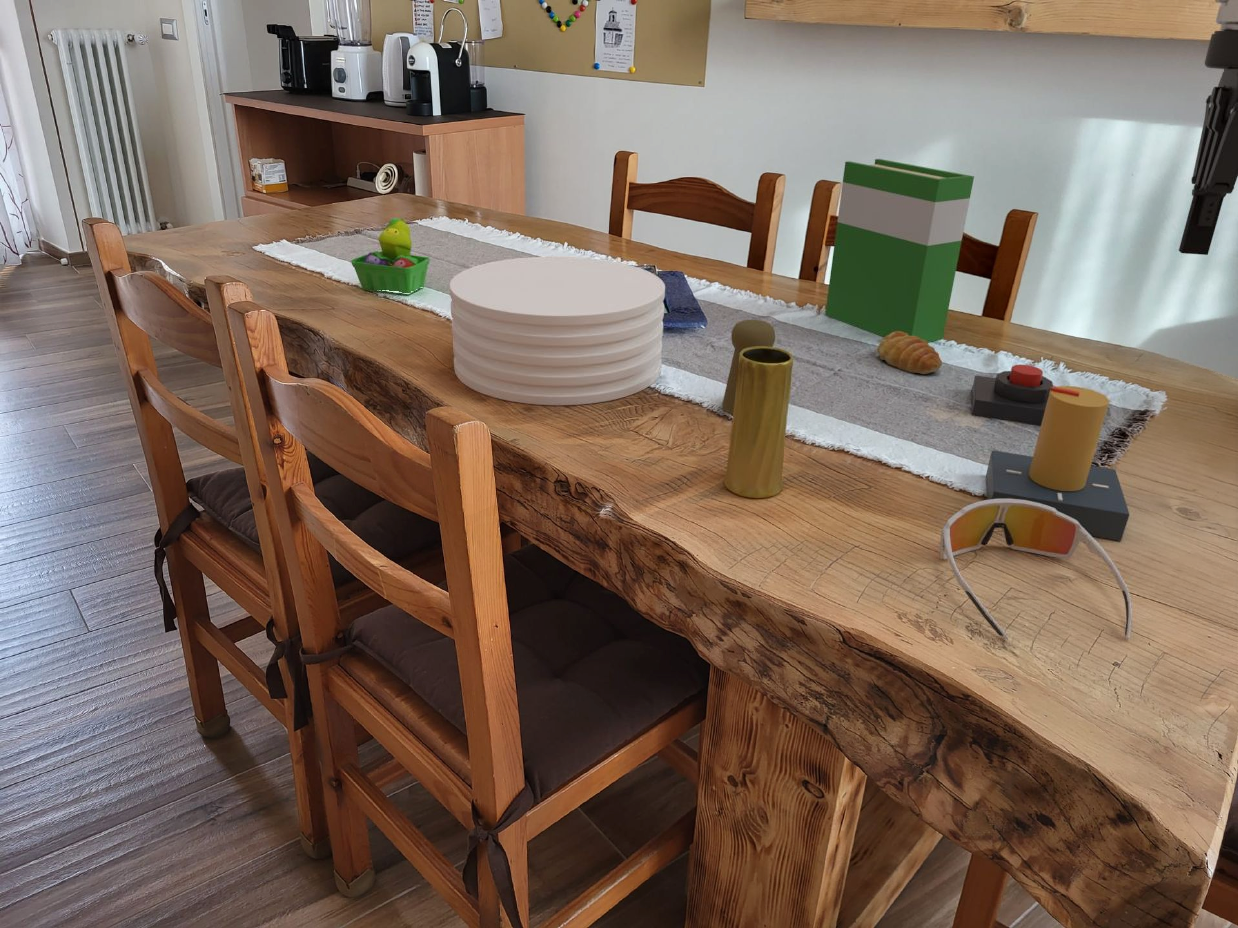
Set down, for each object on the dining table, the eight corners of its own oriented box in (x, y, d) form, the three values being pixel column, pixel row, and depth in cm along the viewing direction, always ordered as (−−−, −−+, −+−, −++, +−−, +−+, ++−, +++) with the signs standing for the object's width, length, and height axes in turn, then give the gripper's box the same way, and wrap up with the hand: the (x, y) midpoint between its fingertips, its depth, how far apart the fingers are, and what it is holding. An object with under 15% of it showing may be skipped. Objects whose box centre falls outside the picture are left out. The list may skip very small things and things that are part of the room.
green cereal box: (825, 315, 149) (845, 161, 138) (857, 308, 153) (879, 159, 142) (909, 346, 136) (939, 180, 125) (942, 339, 139) (974, 176, 129)
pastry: (952, 373, 126) (958, 347, 124) (915, 380, 123) (919, 353, 122) (906, 352, 134) (910, 327, 132) (869, 358, 131) (873, 332, 129)
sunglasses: (1063, 540, 86) (1080, 497, 83) (1144, 659, 74) (1167, 614, 71) (915, 540, 85) (927, 497, 83) (973, 660, 73) (989, 614, 70)
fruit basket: (351, 291, 154) (344, 223, 149) (379, 278, 161) (373, 213, 156) (411, 299, 150) (406, 229, 145) (437, 285, 158) (433, 219, 153)
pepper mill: (713, 409, 112) (719, 323, 107) (735, 394, 117) (743, 311, 112) (757, 421, 109) (766, 334, 104) (778, 406, 114) (788, 321, 109)
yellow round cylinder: (1088, 476, 92) (1113, 390, 88) (1081, 496, 88) (1107, 407, 84) (1033, 463, 94) (1055, 378, 90) (1024, 482, 90) (1046, 395, 86)
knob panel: (1107, 494, 95) (1116, 467, 94) (1121, 541, 86) (1130, 512, 85) (985, 474, 98) (992, 448, 97) (987, 517, 90) (994, 489, 88)
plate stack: (414, 358, 125) (408, 276, 120) (573, 321, 142) (573, 247, 137) (538, 424, 107) (536, 330, 102) (703, 372, 124) (709, 289, 119)
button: (1038, 380, 114) (1042, 366, 114) (1040, 390, 111) (1043, 376, 111) (1008, 375, 115) (1011, 362, 115) (1009, 385, 112) (1012, 372, 112)
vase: (711, 482, 95) (722, 352, 89) (751, 466, 99) (764, 340, 92) (754, 505, 91) (769, 370, 84) (794, 487, 94) (811, 357, 88)
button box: (1061, 403, 117) (1069, 374, 116) (1067, 430, 110) (1076, 399, 108) (971, 390, 120) (977, 362, 119) (971, 416, 113) (978, 385, 111)
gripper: (1199, 28, 103) (1146, 239, 113) (1230, 28, 91) (1168, 262, 102) (1276, 28, 101) (1215, 243, 111) (1317, 28, 89) (1245, 268, 100)
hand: (1193, 252), depth 106 cm, fingers closed
